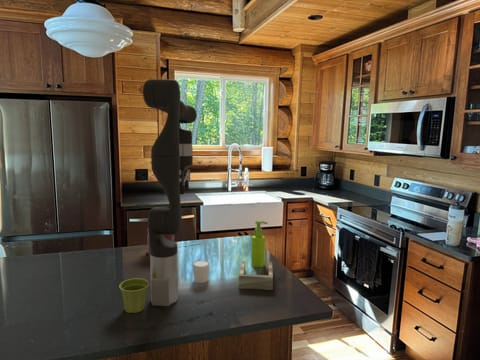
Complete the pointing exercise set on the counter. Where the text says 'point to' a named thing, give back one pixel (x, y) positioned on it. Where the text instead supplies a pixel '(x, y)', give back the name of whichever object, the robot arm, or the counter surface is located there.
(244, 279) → the shelf
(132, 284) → the plant pot
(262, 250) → the soap dispenser
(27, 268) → the counter surface
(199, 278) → the shot glass
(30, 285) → the counter surface
